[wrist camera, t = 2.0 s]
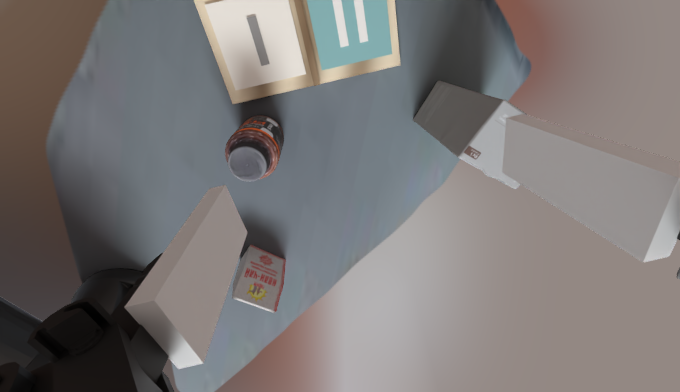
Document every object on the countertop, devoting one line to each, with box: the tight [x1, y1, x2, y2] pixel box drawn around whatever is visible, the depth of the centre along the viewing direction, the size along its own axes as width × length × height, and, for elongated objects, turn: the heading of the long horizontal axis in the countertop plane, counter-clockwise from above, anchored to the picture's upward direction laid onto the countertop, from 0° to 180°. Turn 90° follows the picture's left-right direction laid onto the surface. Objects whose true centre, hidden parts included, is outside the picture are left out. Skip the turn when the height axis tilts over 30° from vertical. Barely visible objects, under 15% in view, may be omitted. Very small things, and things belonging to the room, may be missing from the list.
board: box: [194, 0, 400, 104], centre depth 33 cm, size 22×12×2 cm, turn 102°
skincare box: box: [413, 80, 529, 189], centre depth 33 cm, size 8×7×16 cm
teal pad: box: [307, 0, 392, 70], centre depth 32 cm, size 9×9×1 cm
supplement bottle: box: [225, 115, 284, 182], centre depth 34 cm, size 6×6×11 cm
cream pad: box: [205, 0, 306, 90], centre depth 32 cm, size 9×9×1 cm
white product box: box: [232, 245, 286, 313], centre depth 44 cm, size 4×7×10 cm, turn 55°
